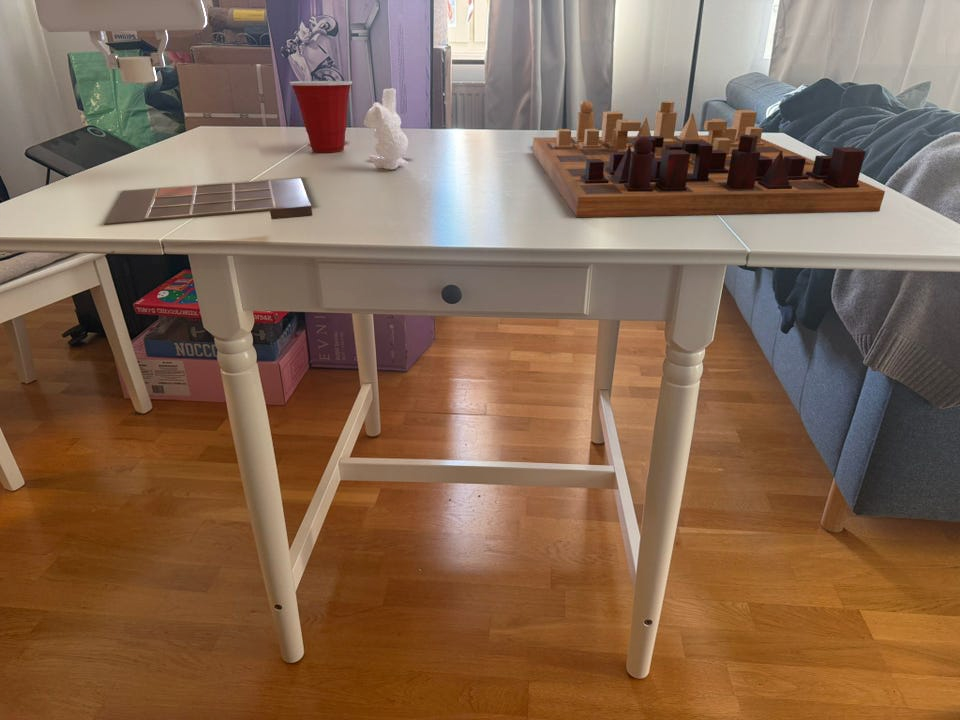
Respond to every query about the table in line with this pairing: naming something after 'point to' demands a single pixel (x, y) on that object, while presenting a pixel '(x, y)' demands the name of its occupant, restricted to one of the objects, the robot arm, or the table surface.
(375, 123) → the white upright figurine
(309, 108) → the plastic cup
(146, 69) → the short white cylinder
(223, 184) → the board
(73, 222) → the table surface
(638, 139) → the gameboard
